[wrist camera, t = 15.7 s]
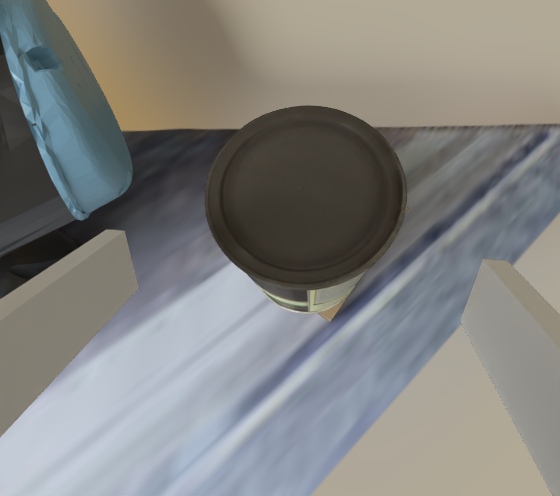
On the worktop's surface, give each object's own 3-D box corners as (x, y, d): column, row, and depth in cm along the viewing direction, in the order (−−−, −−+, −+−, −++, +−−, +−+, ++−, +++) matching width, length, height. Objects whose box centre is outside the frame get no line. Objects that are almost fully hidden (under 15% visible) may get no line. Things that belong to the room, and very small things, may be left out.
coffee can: (251, 316, 28) (197, 292, 15) (252, 211, 31) (208, 112, 18) (368, 313, 27) (423, 284, 14) (357, 205, 30) (393, 96, 17)
